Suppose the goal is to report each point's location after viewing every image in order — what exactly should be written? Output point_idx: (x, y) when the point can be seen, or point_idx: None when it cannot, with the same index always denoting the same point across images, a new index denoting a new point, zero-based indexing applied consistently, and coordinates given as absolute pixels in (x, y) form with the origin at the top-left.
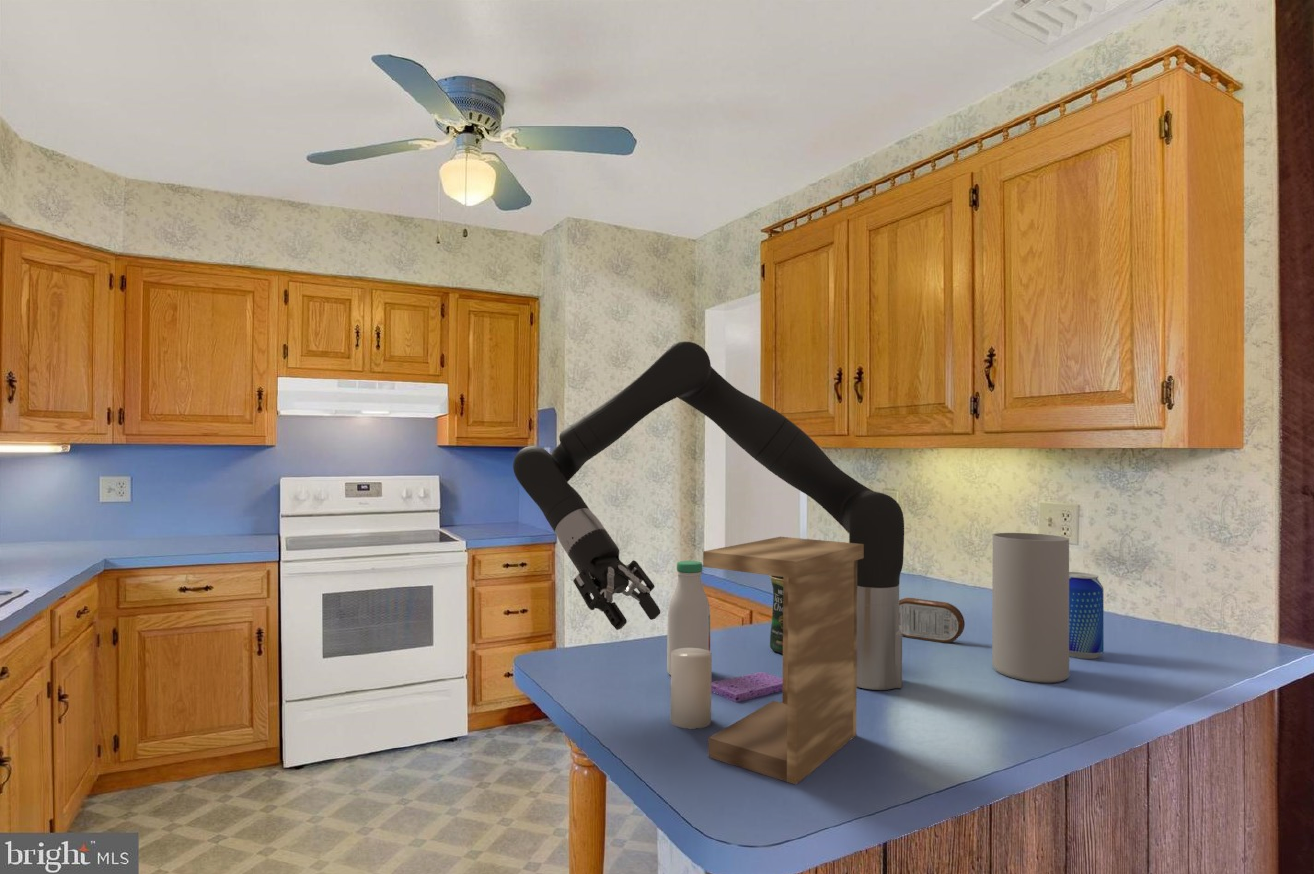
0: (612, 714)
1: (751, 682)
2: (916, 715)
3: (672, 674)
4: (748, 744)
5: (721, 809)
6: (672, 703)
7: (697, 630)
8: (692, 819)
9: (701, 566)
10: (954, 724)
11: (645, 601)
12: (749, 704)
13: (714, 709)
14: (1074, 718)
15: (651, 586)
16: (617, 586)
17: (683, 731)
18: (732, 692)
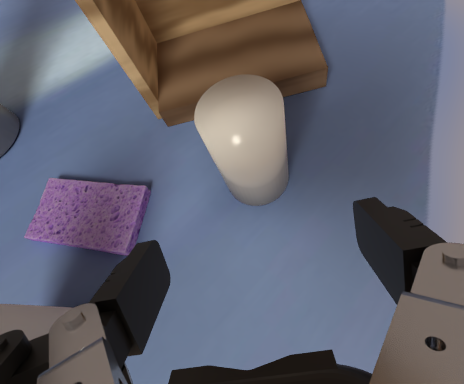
0: (346, 282)
1: (81, 210)
2: (73, 61)
3: (282, 144)
4: (301, 37)
5: (398, 8)
6: (285, 170)
7: (8, 308)
8: (439, 5)
9: None
10: (78, 36)
11: (137, 303)
12: (146, 173)
13: (196, 189)
14: (18, 10)
15: (13, 338)
16: (308, 362)
17: (294, 155)
18: (140, 195)
